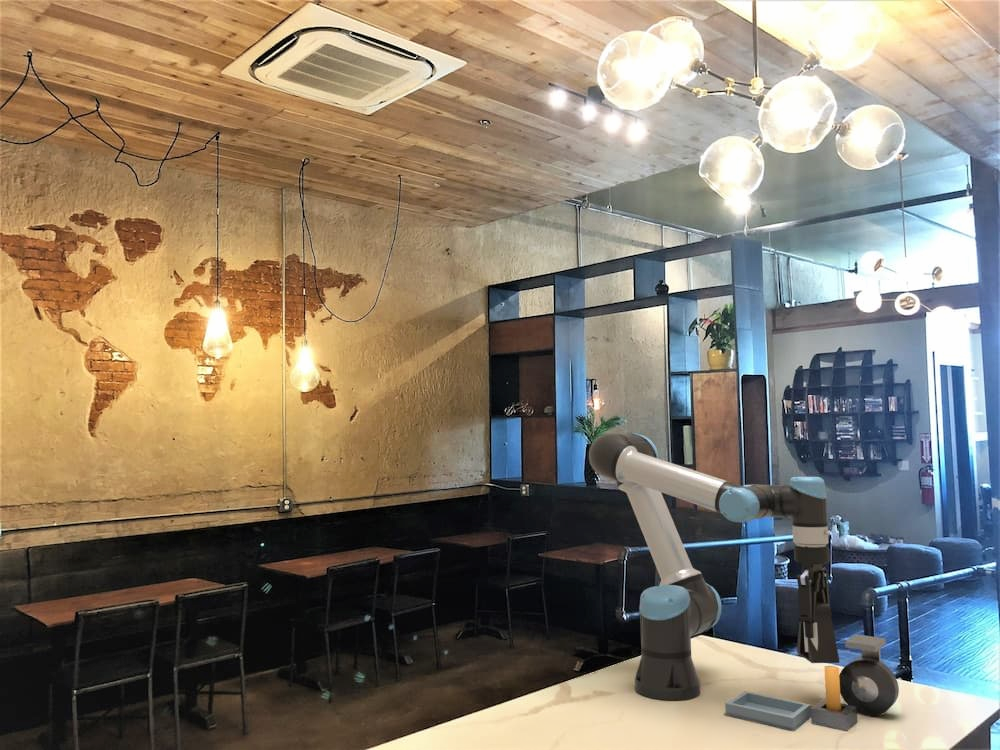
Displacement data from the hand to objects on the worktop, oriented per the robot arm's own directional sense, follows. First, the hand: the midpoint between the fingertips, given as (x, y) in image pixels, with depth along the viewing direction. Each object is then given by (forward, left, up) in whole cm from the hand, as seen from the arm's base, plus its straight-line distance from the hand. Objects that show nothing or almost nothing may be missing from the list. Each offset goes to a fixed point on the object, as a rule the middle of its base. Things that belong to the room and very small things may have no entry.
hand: (817, 648), depth 170 cm
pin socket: (+6, -11, -12) cm, 17 cm away
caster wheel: (+10, 0, -12) cm, 16 cm away
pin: (+6, -11, -12) cm, 17 cm away
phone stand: (0, 0, -2) cm, 2 cm away
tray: (-6, -16, -12) cm, 20 cm away
